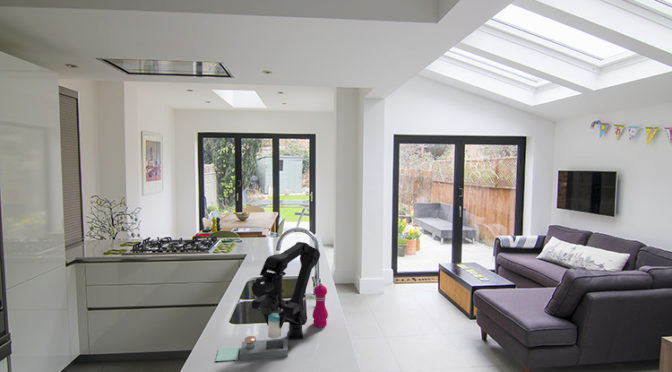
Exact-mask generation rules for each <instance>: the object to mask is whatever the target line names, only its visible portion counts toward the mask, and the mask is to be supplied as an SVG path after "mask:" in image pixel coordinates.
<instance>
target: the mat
mask: <svg viewBox="0 0 672 372" xmlns="http://www.w3.org/2000/svg"><path fill="white" fill-rule="evenodd" d="M240 349H241V347H240V346H230V347H219V348H218V351H217V354H216V357H215V360H214V361H215V363H217V362H216V361H223V362H232V361H233V360H235V361H238V360H239V359H238V358H239V355H240ZM233 362H234V361H233Z"/></svg>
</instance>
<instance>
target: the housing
mask: <svg viewBox="0 0 672 372" xmlns="http://www.w3.org/2000/svg"><path fill="white" fill-rule="evenodd" d="M274 347H282V348H277V349H267V348H274ZM288 347H289V345H288V337H287V338H270V339H260V340H256V342H255V343H254V349H247V344H246V343H245V340H244V341H241V347H240V351H239V360H240V361H247V360H258V359H259V360H260V359H270V358H282V357H284V358H285V357H288V356H289V348H288Z"/></svg>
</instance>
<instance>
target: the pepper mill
mask: <svg viewBox="0 0 672 372" xmlns="http://www.w3.org/2000/svg"><path fill="white" fill-rule="evenodd" d="M327 293H328V289H327V287H326V286H325V285H324V284H323V282H318V285H316V286H315V287H314V290H313V294H314V295H315V296H314V299H315V306H314V308H313V311H312V318H313V321H312V322H313V323H312V324H313V326H314V327H316V328H324V327H326V326H327V325H328V323H327V321H328V320H327V319H328V317H329V313H328V310H327V307H326V303H325V302H326V298H327Z"/></svg>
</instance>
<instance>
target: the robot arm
mask: <svg viewBox="0 0 672 372" xmlns="http://www.w3.org/2000/svg"><path fill="white" fill-rule="evenodd" d="M320 256H321V252H320V251H319V249H318V248H316V247H313V246H311V245H310V244H309V243H307V242H304V241H303V242H302V241H297V242H295V244H294V245H292V246H291V247H288V248H287V249H286V250H284V251H283V252H280V253H276V254H275V253H274V254H272V255H269V256H268V257H267V258H266V259H265V262H264V264H263V266H262V268H261V271H260V273H259V275H260V277H256V279H255V281H254V282H253V283H252V285H251V291H252V293H253V295H254V296H255V297H256V298H254V299H253V300H252V301H251V302H250V308H251V309H254V310H257V311H258V312H260V313H259V314H262V315H263V317H264V319H265V322H266V325H267V326H268V316H269V315H270V314H272V313H277V311H278V310H281V311H280V312H278V313H279V314H278V315H279V316H280V323H279V326H280V328H281V329H282V328H283V325H284V323H288V331H287V340H300V339H301V340H302V339H304V333H303V326H305V325H306V324H307V322H308V316H307V315H306V314H305V313H304V312H305V306H304V302H303V301H304V297H305V294H306V290H307V288H308V287H307V286H308V284H309V280H310V277H311V273H312V269H314V267H316V265H317V264H318V262H319V259H320V258H321V257H320ZM298 257H299V261H300V269H299V273H298V275H297V279H296V282H295V285H294V290H293V293H292V296H291V298H290V299H289V300H287V301H284V300H285V299H284V298H283V293H284V292H285V289H284V288H283V277H284V276H286V275H287V273H286V272H285V270H286V269H287V268H288V265H289V263H291V262H292V261H293V260H295V259H297V258H298ZM263 296H265V297H263ZM284 302H285V303H284ZM283 303H284V304H283Z"/></svg>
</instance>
